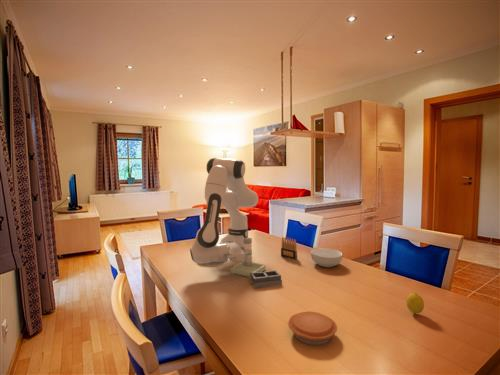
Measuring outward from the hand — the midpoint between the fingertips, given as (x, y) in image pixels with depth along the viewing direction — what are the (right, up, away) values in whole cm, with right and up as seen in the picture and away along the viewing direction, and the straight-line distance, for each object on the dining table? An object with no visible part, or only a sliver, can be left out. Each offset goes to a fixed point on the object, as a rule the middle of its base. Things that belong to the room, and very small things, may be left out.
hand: (249, 249), depth 146 cm
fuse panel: (+8, -12, -13) cm, 20 cm away
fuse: (-1, -8, 0) cm, 8 cm away
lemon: (+61, -14, -43) cm, 76 cm away
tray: (-1, -12, +1) cm, 12 cm away
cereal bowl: (+42, -10, +9) cm, 45 cm away
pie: (+21, -16, -54) cm, 60 cm away
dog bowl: (-22, -11, +21) cm, 33 cm away
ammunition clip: (+24, -10, +22) cm, 34 cm away
